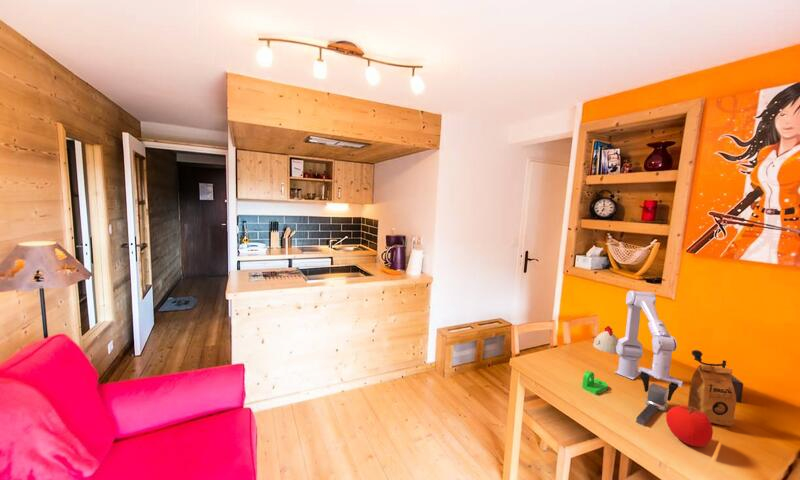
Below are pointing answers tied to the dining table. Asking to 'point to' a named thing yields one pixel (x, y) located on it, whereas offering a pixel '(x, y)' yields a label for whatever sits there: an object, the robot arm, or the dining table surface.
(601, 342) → the kitchen timer
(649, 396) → the grey square block
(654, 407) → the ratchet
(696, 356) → the manual coffee grinder
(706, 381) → the coffee package
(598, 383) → the mechanical part
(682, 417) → the tomato
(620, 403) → the dining table surface
